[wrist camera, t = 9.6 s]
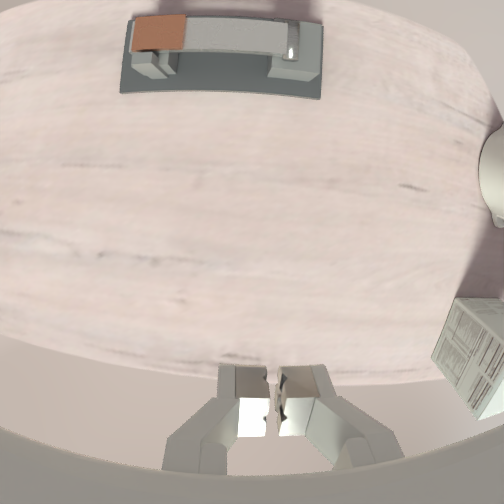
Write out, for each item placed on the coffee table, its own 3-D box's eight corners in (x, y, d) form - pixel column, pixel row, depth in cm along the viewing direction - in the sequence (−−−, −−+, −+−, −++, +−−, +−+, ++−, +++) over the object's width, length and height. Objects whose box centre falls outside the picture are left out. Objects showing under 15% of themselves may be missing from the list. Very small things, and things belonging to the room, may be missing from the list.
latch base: (321, 28, 32) (343, 2, 23) (318, 100, 35) (341, 89, 27) (130, 23, 30) (105, -3, 22) (122, 93, 33) (92, 83, 25)
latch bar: (298, 26, 27) (303, 19, 25) (296, 62, 28) (301, 57, 26) (136, 22, 25) (131, 15, 23) (132, 58, 26) (125, 53, 24)
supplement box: (428, 359, 50) (475, 423, 33) (454, 296, 46) (517, 352, 29) (474, 354, 51) (520, 406, 35) (499, 296, 47) (556, 342, 30)
